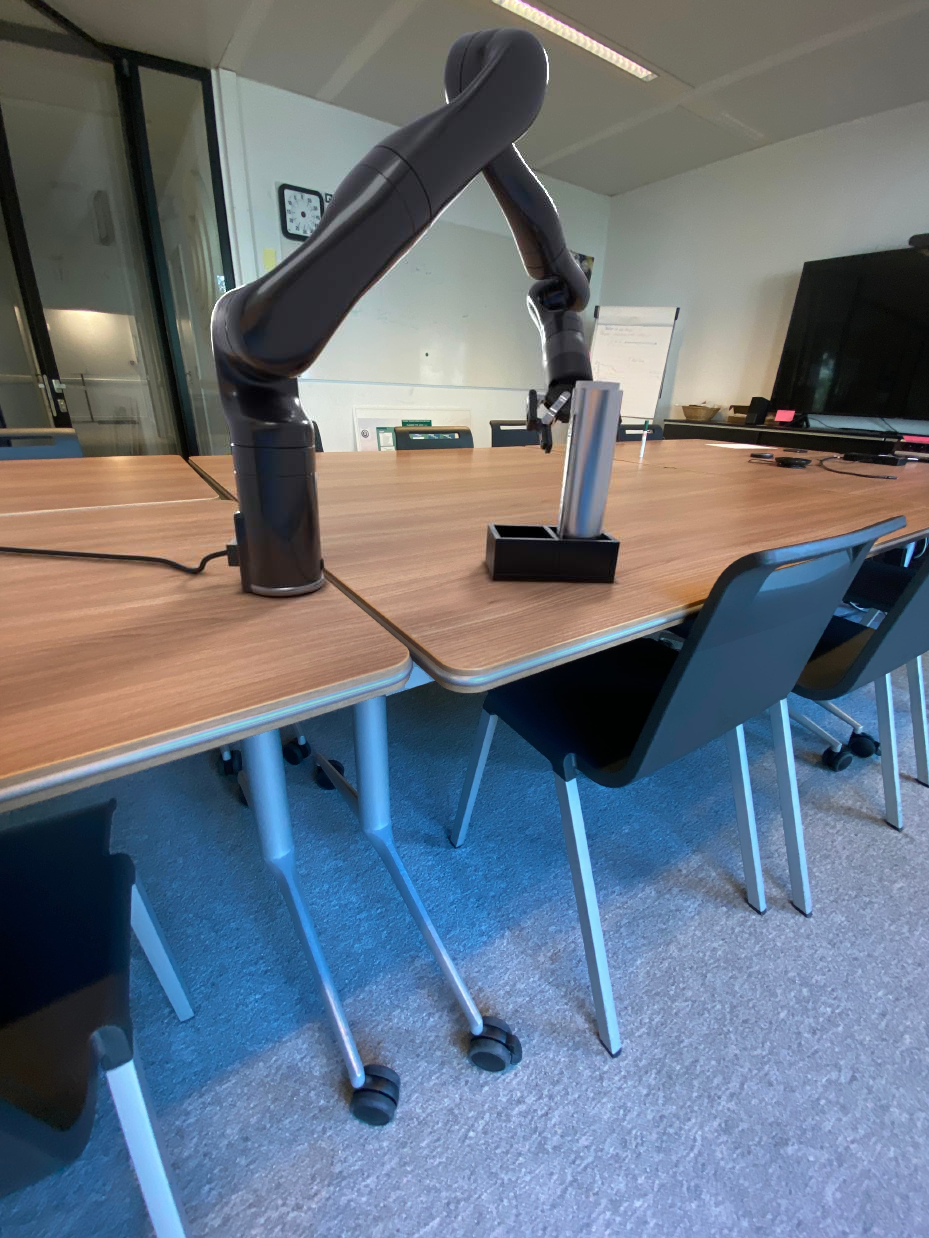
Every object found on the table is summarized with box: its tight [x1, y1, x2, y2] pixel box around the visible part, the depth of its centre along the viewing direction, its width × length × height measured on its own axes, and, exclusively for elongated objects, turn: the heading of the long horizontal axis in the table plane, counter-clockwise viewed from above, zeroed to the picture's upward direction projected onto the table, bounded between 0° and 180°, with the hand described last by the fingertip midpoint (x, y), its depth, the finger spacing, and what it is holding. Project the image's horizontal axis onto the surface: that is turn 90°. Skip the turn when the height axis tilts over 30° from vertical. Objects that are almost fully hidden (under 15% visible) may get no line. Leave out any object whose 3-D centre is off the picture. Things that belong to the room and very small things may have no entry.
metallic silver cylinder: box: [556, 380, 624, 540], centre depth 74 cm, size 6×6×25 cm
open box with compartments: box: [484, 523, 621, 584], centre depth 78 cm, size 17×9×6 cm, turn 95°
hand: (577, 451), depth 79 cm, fingers open, 8 cm apart
